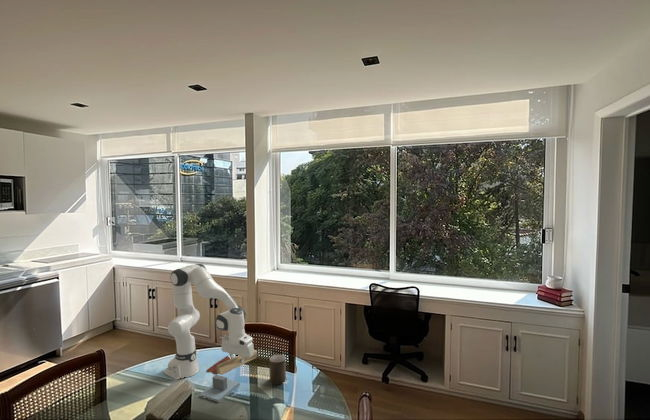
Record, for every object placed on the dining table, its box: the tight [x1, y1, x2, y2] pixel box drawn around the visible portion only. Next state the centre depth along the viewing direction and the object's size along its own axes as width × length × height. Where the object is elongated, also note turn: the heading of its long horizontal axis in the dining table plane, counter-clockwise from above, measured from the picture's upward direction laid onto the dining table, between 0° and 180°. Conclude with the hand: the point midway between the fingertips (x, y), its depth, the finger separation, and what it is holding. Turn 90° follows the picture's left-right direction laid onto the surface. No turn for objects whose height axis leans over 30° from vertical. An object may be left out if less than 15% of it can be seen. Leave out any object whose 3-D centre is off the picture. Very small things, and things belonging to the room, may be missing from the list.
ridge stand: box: [199, 374, 241, 403], centre depth 198 cm, size 14×18×8 cm
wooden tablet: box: [205, 355, 230, 375], centre depth 229 cm, size 27×10×2 cm, turn 158°
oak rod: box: [217, 349, 258, 376], centre depth 191 cm, size 4×24×4 cm, turn 139°
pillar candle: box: [269, 354, 287, 385], centre depth 207 cm, size 10×10×15 cm
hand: (237, 361), depth 191 cm, fingers closed on oak rod, 5 cm apart
